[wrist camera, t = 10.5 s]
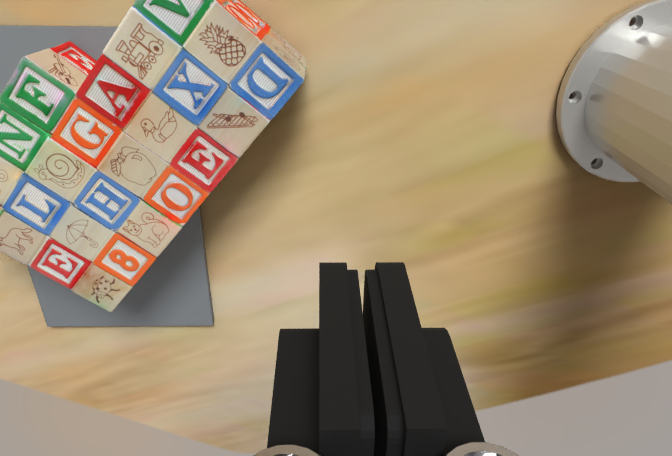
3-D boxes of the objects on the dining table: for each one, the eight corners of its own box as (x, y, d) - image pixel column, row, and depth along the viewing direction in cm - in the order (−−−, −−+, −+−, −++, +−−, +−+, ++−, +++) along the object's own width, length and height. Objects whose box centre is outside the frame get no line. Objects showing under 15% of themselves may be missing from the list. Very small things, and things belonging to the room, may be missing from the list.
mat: (176, 27, 33) (174, 28, 32) (214, 321, 44) (212, 325, 44) (-46, 24, 32) (-52, 26, 32) (50, 321, 44) (47, 326, 43)
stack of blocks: (310, 59, 33) (147, -88, 29) (309, 81, 28) (107, -96, 24) (137, 266, 41) (-14, 172, 37) (108, 316, 35) (-72, 212, 31)
